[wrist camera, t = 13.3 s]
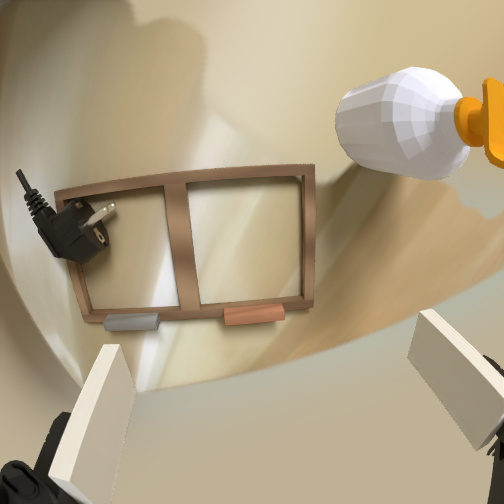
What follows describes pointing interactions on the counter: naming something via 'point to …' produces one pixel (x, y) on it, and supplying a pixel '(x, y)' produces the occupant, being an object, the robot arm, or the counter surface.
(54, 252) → the power plug
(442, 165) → the soap bottle
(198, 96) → the counter surface
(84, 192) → the strip
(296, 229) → the counter surface
